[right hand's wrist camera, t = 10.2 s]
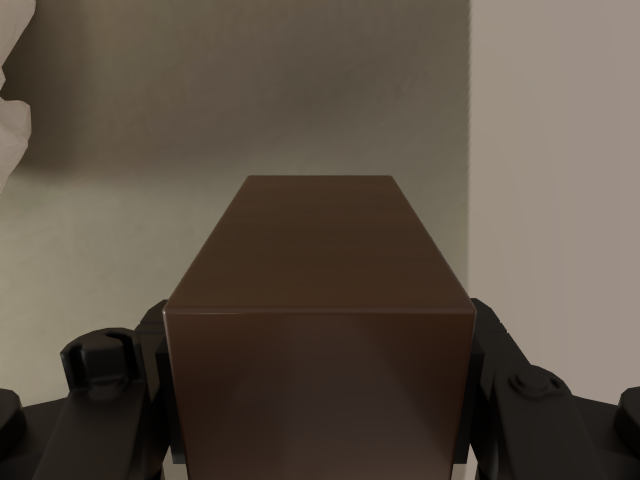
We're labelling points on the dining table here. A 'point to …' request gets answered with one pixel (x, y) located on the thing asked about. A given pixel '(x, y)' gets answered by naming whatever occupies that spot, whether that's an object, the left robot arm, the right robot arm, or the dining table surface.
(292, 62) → the dining table surface
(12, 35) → the skull
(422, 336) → the walnut bar
